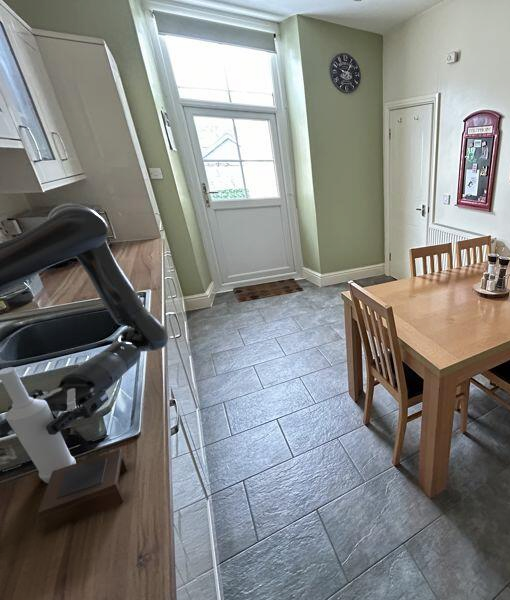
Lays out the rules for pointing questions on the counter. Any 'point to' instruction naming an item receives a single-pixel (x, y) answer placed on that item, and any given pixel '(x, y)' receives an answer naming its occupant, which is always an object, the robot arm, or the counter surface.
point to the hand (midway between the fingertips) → (24, 431)
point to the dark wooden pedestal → (83, 489)
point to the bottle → (34, 427)
